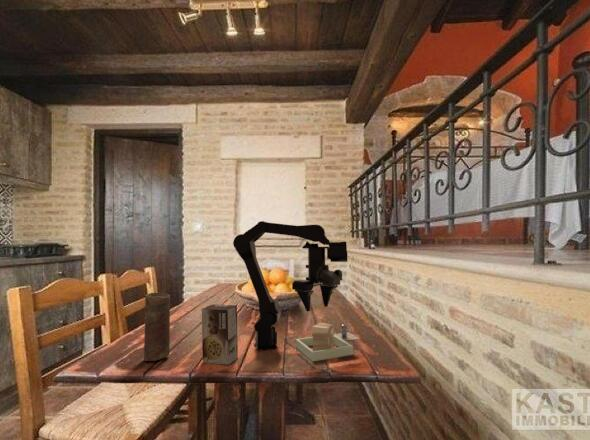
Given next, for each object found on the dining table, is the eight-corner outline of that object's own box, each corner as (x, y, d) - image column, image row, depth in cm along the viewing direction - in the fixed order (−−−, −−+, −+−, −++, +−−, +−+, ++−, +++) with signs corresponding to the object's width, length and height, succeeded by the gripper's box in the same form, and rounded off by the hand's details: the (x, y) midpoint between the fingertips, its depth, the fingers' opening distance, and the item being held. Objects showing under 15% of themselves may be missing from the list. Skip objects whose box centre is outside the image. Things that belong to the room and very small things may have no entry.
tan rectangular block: (327, 354, 102) (326, 328, 103) (312, 352, 105) (312, 326, 105) (333, 349, 107) (333, 324, 107) (319, 347, 109) (319, 322, 110)
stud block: (339, 344, 115) (339, 328, 115) (329, 337, 122) (328, 322, 122) (359, 341, 118) (359, 325, 118) (348, 334, 125) (347, 320, 125)
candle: (162, 352, 109) (162, 291, 110) (174, 357, 105) (174, 293, 106) (139, 359, 104) (139, 294, 104) (151, 365, 99) (151, 296, 100)
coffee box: (238, 357, 104) (238, 305, 105) (228, 365, 98) (228, 309, 99) (212, 354, 107) (212, 303, 107) (201, 362, 100) (201, 308, 101)
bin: (312, 364, 97) (312, 352, 97) (295, 349, 110) (295, 339, 110) (353, 357, 102) (353, 346, 102) (332, 344, 115) (332, 334, 115)
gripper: (317, 265, 100) (317, 318, 100) (352, 261, 114) (353, 307, 113) (290, 263, 108) (291, 312, 107) (326, 259, 122) (327, 303, 121)
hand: (317, 308), depth 112 cm, fingers open, 9 cm apart
